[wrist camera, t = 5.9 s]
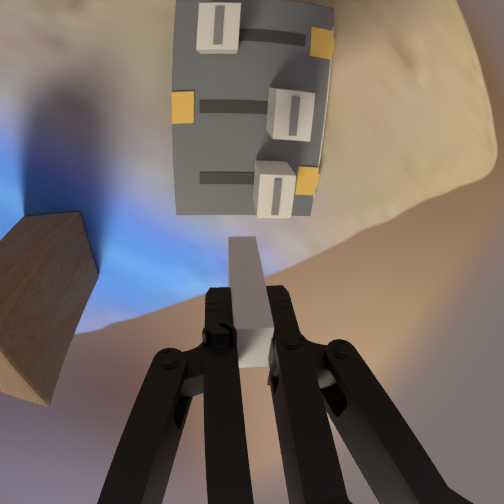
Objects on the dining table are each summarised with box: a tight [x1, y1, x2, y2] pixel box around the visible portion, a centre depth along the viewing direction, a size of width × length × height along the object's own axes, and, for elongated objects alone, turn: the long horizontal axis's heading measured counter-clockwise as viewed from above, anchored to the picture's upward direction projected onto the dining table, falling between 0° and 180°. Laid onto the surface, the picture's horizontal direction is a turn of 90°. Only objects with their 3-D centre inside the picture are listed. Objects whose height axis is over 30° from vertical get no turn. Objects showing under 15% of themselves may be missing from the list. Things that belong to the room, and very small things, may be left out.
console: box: [172, 0, 335, 216], centre depth 24 cm, size 14×22×2 cm, turn 177°
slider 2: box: [266, 88, 315, 142], centre depth 22 cm, size 3×4×4 cm
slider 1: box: [196, 3, 241, 54], centre depth 17 cm, size 3×4×4 cm
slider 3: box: [253, 160, 296, 219], centre depth 26 cm, size 3×4×4 cm
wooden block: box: [0, 212, 99, 406], centre depth 24 cm, size 10×10×20 cm
